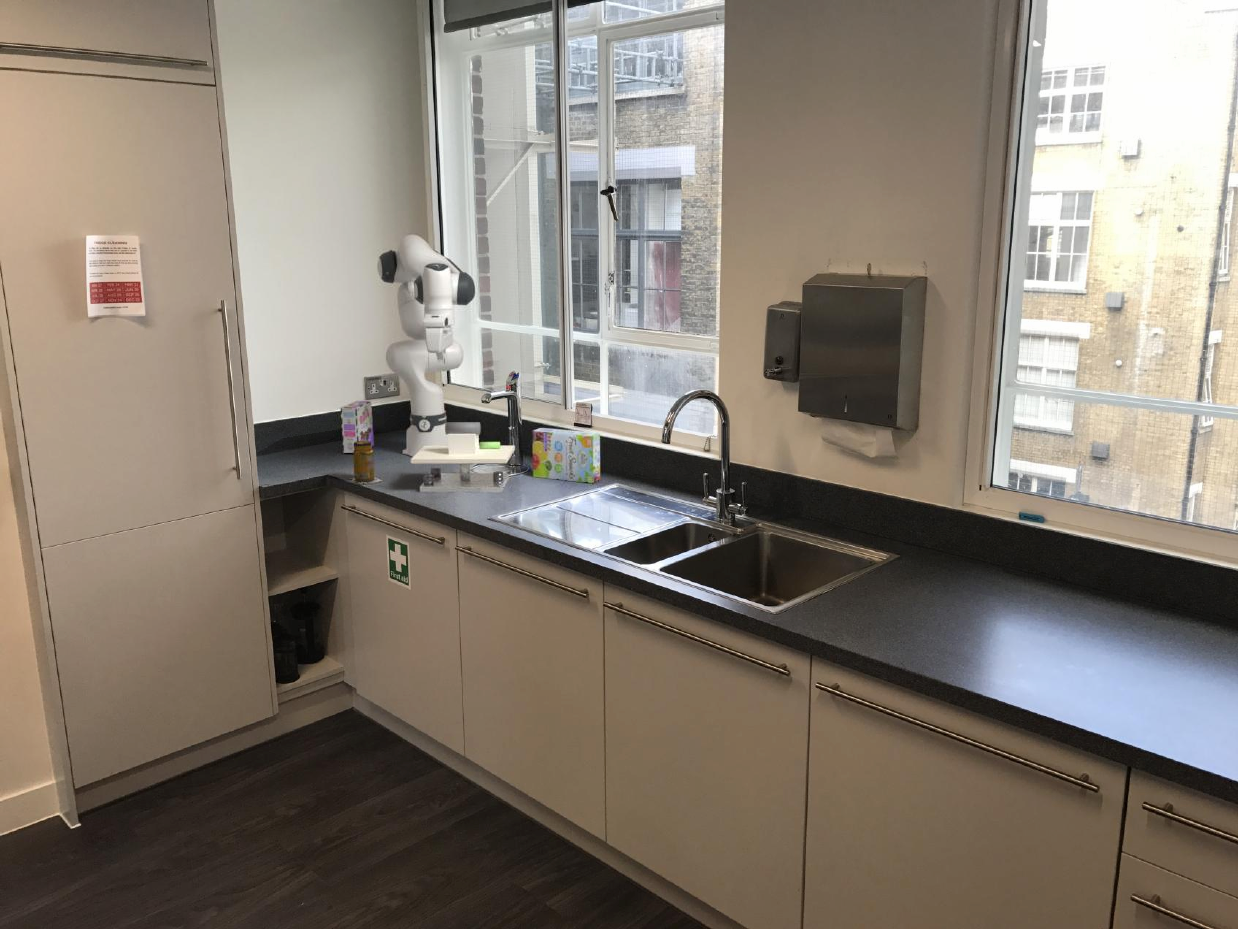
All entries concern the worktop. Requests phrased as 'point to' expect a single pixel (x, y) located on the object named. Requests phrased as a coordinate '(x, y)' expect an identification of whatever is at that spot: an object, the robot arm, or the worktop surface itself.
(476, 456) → the plate
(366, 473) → the condiment
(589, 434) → the snack box
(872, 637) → the worktop surface
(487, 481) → the bolted base plate
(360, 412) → the candy box
